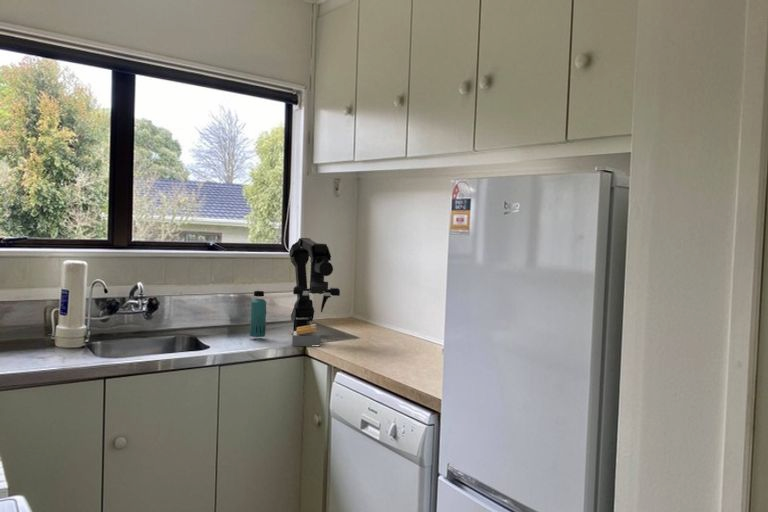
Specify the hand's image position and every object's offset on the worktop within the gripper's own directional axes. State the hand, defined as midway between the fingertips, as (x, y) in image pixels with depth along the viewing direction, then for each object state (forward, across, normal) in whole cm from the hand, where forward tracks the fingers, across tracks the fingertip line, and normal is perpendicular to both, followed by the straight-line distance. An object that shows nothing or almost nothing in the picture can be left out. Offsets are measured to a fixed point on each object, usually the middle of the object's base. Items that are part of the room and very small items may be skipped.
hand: (315, 312), depth 236 cm
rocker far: (+7, -3, 0) cm, 7 cm away
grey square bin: (+12, -3, -3) cm, 13 cm away
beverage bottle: (+13, -23, +4) cm, 27 cm away
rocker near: (+7, -3, -6) cm, 9 cm away
